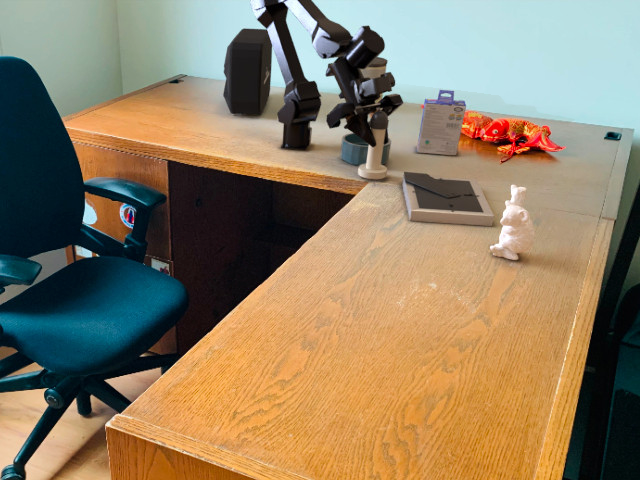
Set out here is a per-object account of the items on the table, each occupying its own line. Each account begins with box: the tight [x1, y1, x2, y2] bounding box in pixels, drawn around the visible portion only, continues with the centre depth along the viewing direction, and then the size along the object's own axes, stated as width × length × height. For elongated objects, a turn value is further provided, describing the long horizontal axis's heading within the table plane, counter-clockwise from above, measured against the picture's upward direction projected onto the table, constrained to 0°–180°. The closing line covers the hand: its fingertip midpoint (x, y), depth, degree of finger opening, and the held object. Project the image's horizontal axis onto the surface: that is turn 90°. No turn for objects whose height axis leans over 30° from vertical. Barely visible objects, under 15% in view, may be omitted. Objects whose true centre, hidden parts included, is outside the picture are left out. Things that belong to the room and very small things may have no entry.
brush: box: [357, 111, 390, 180], centre depth 147 cm, size 6×6×14 cm
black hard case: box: [222, 28, 273, 116], centre depth 197 cm, size 30×12×20 cm, turn 172°
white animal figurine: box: [489, 184, 536, 261], centre depth 115 cm, size 8×7×12 cm
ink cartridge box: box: [416, 89, 467, 156], centre depth 164 cm, size 10×6×14 cm, turn 79°
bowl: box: [339, 132, 392, 167], centre depth 160 cm, size 12×12×5 cm
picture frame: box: [401, 171, 495, 227], centre depth 138 cm, size 16×3×21 cm
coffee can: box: [361, 56, 389, 103], centre depth 198 cm, size 10×10×14 cm
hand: (380, 144), depth 146 cm, fingers closed on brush, 3 cm apart
